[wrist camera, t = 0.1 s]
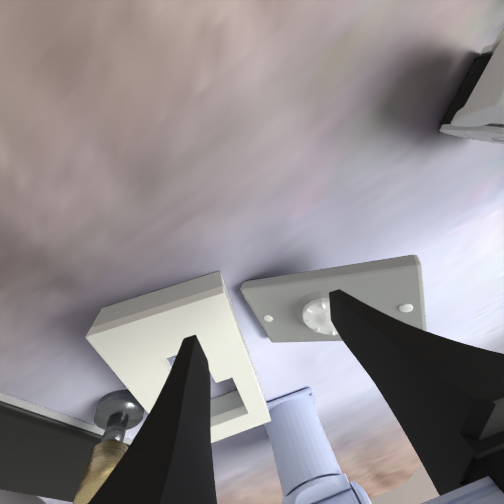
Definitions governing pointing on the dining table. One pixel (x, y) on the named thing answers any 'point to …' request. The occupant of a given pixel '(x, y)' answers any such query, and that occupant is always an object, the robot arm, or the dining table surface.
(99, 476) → the peg
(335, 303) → the robot arm
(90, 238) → the dining table surface
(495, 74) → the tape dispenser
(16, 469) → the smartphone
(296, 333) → the light switch
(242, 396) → the keyhole board
